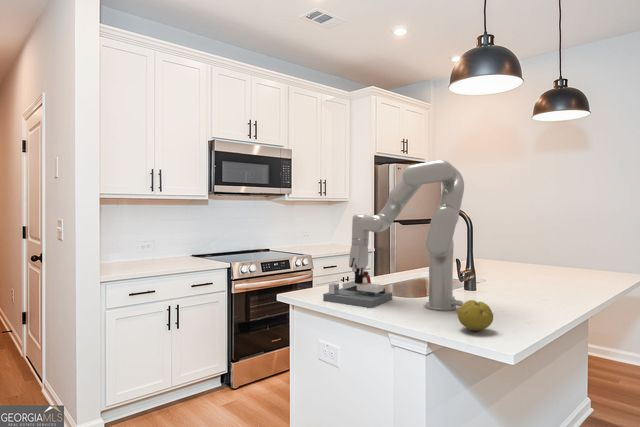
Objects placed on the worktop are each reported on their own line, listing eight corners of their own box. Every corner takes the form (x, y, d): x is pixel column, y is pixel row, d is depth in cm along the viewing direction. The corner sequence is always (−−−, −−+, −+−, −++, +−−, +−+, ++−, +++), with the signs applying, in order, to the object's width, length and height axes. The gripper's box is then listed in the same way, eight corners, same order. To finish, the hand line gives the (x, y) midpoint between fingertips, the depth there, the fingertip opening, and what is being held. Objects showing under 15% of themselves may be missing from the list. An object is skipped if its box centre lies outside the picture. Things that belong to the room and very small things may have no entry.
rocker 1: (367, 282, 195) (366, 276, 196) (361, 284, 190) (359, 278, 191) (349, 286, 201) (348, 281, 201) (343, 288, 196) (341, 283, 196)
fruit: (451, 326, 147) (451, 297, 147) (484, 325, 147) (484, 297, 147) (463, 336, 136) (464, 305, 136) (499, 335, 136) (499, 304, 136)
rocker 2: (383, 290, 184) (383, 284, 184) (377, 292, 179) (377, 286, 179) (363, 287, 190) (363, 282, 190) (356, 290, 185) (356, 284, 185)
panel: (392, 299, 190) (392, 288, 190) (371, 308, 173) (372, 296, 173) (346, 293, 203) (346, 283, 203) (323, 300, 186) (323, 289, 186)
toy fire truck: (363, 294, 200) (363, 272, 200) (351, 289, 211) (351, 269, 211) (375, 293, 203) (375, 271, 202) (363, 288, 214) (363, 268, 214)
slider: (338, 292, 188) (338, 283, 188) (334, 294, 184) (334, 285, 184) (333, 292, 189) (333, 283, 189) (328, 293, 186) (328, 284, 186)
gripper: (360, 240, 195) (359, 279, 196) (344, 242, 183) (342, 284, 184) (375, 241, 191) (373, 282, 192) (359, 244, 179) (357, 287, 179)
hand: (358, 283), depth 188 cm, fingers closed
